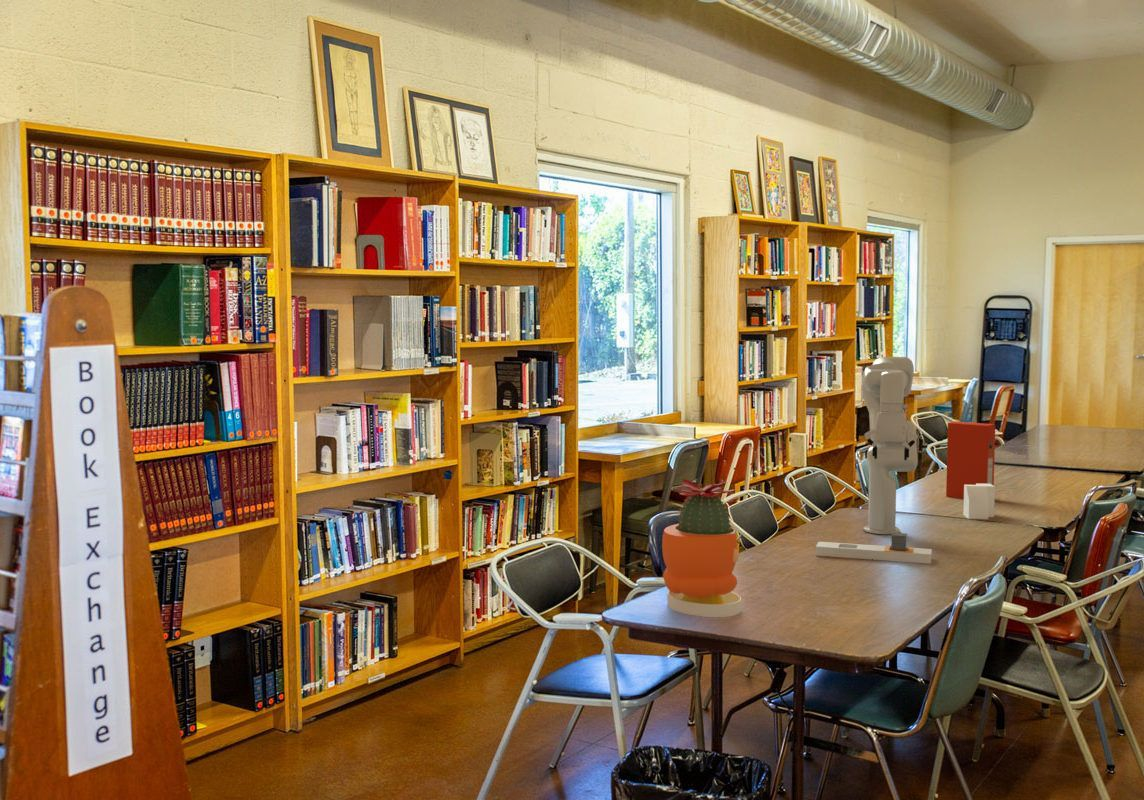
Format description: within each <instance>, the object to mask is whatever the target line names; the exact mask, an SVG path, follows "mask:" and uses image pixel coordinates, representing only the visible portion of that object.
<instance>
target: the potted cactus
mask: <svg viewBox="0 0 1144 800" xmlns="http://www.w3.org/2000/svg"><path fill="white" fill-rule="evenodd" d="M707 484H708V485H707ZM681 485H682V486H683V487H678V488H677V491H680V492H681V493H680V492H679V493H678V495H681V496H683V497H687V498H686V500H684V502H683V503H680V504H681V509H679V510H678V511H679V513H678V512H677V515H678V516H679V517H678V518H677V519H676V521H678V523H675V524H670V525H669V526H667V527H665V528H664V529H663V534H662V542H661V548H662V549H661V550H662V557H663V562H664V564H665V567H666V568H665V570H664V572H662V573H663V576H662V577H663V581H664V584H665V586H666V588H667V589H668V590H667V593H666V595H667V597H666V598H667V602H666V603H667V607H668V608H669V609H671V610H672V611H675V612H678V613H682V614H685V615H690V616H695V617H706V618H727V617H733V616H737V615H739V614H741V612H742V597H741V596H740V595H739V594H737V593H736V592H733V590H735V588H736V587H737V585H738V580H737V577H736V576H735V575H734V574H733V571H734V568H735V567H736V563H737V562H738V561H739V558H740V554H739V550H738V539H737V532H736V529H735V528H734V527H733V526H730V525H731V522H733V520H730V516H732V514H731V513H730V514H729V512H730V508H729V509H728V505H727V504H725V500H724V499H723V500H722V496H718V494H727V493H731V492H734V491H735V489H727V490H721V489H722V488H721V487H723V486H725V485H727V481H724V482H720V483H717V484H712V483H710V484H709V482H706V483H705V485H704V486H702V485H703V484H702V483H700V484H697V483H695V482H693V481H691V480H689V479H688V480H687V479H681ZM727 509H728V510H727Z"/></svg>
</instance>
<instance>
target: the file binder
mask: <svg viewBox="0 0 1144 800" xmlns="http://www.w3.org/2000/svg"><path fill="white" fill-rule="evenodd" d="M946 438H947V439H946V440H947V442H946V443H947V444H946V485H945V487H946V488H945V489H946V490H945V491H946V492H945V493H946V494H945V497H946V498H953V499H961V500H964V485H976V483H979V484H992V485H993V486H995V453H996V452H995V450H996V447H995V446H996V424H995V423H984V422H983V423H982V422H981V423H980V422H969V421H968V422H967V421H951V422H948V423H947V437H946Z"/></svg>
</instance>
